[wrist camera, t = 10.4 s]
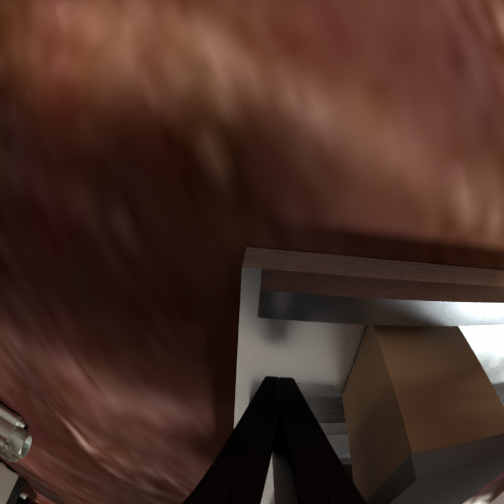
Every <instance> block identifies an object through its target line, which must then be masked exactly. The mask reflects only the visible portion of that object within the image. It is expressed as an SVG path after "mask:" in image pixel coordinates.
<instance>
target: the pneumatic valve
mask: <svg viewBox="0 0 504 504" xmlns="http://www.w3.org/2000/svg"><path fill="white" fill-rule="evenodd" d="M24 427H25V424H24V421H23V420H22V417H20V416H19V415H17V414H16V413H14V412H13V411H11V410H10V409H8V408H7V407H5V406H4V405H2V404H1V403H0V455H1V456H2V457H4V458H5V459H7V460H8V461H10V462H11V461H13V462H17V461H18V458H17V457H19V458H20V459H22V458H24V457H25V456H26V455H27V454H28V452H29V450H30V447H31V443H32V437H31V435H30V434H29V433H28V432H26V430H25V429H24ZM36 497H37V494H36V493H35V491H34V490H33V489H32V487H31V486H30V484H29V483H28V481H27V480H25V479H24V478H22V477H21V476H19V475H17V474H16V473H14V472H13V471H11V470H10V469H8V468H7V467H6V465H5V464H3V463H2V462H0V504H39V503H37V502H35V499H36Z"/></svg>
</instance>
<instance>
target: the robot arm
mask: <svg viewBox="0 0 504 504" xmlns="http://www.w3.org/2000/svg"><path fill="white" fill-rule="evenodd" d="M271 456H272V465H273V482H274V499H275V504H368V503H367V502H366V501H365V499H364V498H363V497H362V495H361V494H360V492H359V491H358V489H357V488H356V486H355V485H354V483H353V481H352V480H351V478H350V476H349V475H348V473H347V471H346V470H345V471H344V469H345V468H344V466H343V465H342V463H341V461H340V459H339V458H338V456H337V454H336V452H335V451H334V449H333V447H332V445H331V444H330V442H329V440H328V438H327V437H326V435H325V433H324V431H323V430H322V428H321V426H320V424H319V422H318V421H317V419H316V417H315V415H314V414H313V412H312V410H311V408H310V406H309V405H308V403H307V401H306V399H305V397H304V396H303V394H302V392H301V390H300V388H299V387H298V385H297V383H296V381H295V380H294V378H291V377H280V378H279V377H276V376H265V377H264V379H263V381H262V382H261V384H260V386H259V388H258V389H257V391H256V393H255V395H254V396H253V398H252V400H251V401H250V403H249V405H248V407H247V408H246V410H245V412H244V413H243V415H242V417H241V418H240V420H239V422H238V423H237V425H236V427H235V428H234V430H233V431H232V433H231V435H230V436H229V438H228V440H227V441H226V443H225V444H224V446H223V448H222V449H221V451H220V452H219V454H218V455H217V457H216V459H215V460H214V462H213V464H212V465H211V466H210V468H209V469H208V471H207V472H206V474H205V475H204V476H203V478H202V479H201V481H200V482H199V483H198V485H197V486H196V488H195V489H194V490H193V491H192V492H191V494H190V495H189V496H188V497H187V498H186V499H185V500H184V502H183V503H182V504H261V500H262V496H263V491H264V487H265V483H266V479H267V474H268V470H269V465H270V461H271Z"/></svg>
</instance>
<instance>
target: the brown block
mask: <svg viewBox="0 0 504 504" xmlns="http://www.w3.org/2000/svg"><path fill="white" fill-rule="evenodd" d="M342 401H343V407H344V414H345V420H346V427H347V434H348V442H349V449H350V457H351V465H352V473H353V482H354V485H355V486H356V488H357V489H358V491H359V492H360V494H361V495H362V497H363V498H364V499H365V501H366V502H367V503H368V504H462V503H463V502H465V501H466V500H467V499H469V498H470V497H471V496H473V495H474V494H475V493H477V492H478V491H479V490H481V489H482V488H483V487H484V486H486V485H487V484H488V483H489V482H491V481H492V480H493V479H494V478H495V477H496V476H498V475H499V474H500V473H501V472H502V471H503V470H504V406H503V404H502V402H501V400H500V399H499V397H498V395H497V393H496V391H495V389H494V387H493V385H492V383H491V381H490V380H489V378H488V376H487V374H486V372H485V371H484V369H483V367H482V365H481V363H480V362H479V360H478V358H477V357H476V355H475V353H474V351H473V350H472V348H471V346H470V345H469V343H468V341H467V340H466V338H465V336H464V335H463V333H462V332H461V330H460V328H459V327H458V326H395V325H368V326H367V329H366V332H365V335H364V338H363V341H362V344H361V347H360V350H359V352H358V355H357V358H356V361H355V363H354V366H353V369H352V371H351V374H350V376H349V379H348V382H347V384H346V387H345V389H344V392H343V394H342Z"/></svg>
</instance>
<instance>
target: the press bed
mask: <svg viewBox="0 0 504 504" xmlns="http://www.w3.org/2000/svg"><path fill="white" fill-rule="evenodd" d="M368 325H395V326H458V327H459V328H460V330H461V332H462V333H463V335H464V336H465V338H466V340H467V341H468V343H469V345H470V346H471V348H472V350H473V351H474V353H475V355H476V357H477V358H478V360H479V362H480V363H481V365H482V367H483V369H484V371H485V372H486V374H487V376H488V378H489V380H490V381H491V383H492V385H493V387H494V389H495V391H496V393H497V395H498V397H499V399H500V400H501V402H502V404H503V406H504V270H494V269H483V268H473V267H462V266H452V265H441V264H431V263H420V262H409V261H398V260H387V259H377V258H366V257H355V256H344V255H333V254H322V253H310V252H299V251H288V250H277V249H265V248H254V247H246V250H245V255H244V260H243V265H242V277H241V295H240V313H239V332H238V352H237V372H236V392H235V413H234V428H235V427H236V425H237V423H238V422H239V420H240V418H241V417H242V415H243V413H244V412H245V410H246V408H247V407H248V405H249V403H250V401H251V400H252V398H253V396H254V395H255V393H256V391H257V389H258V388H259V386H260V384H261V382H262V381H263V379H264V377H265V376H276V377H279V378H280V377H291V378H294V380H295V381H296V383H297V385H298V387H299V388H300V390H301V392H302V394H303V396H304V397H305V399H306V401H307V403H308V405H309V406H310V408H311V410H312V412H313V414H314V415H315V417H316V419H317V421H318V422H319V424H320V426H321V428H322V430H323V431H324V433H325V435H326V437H327V438H328V440H329V442H330V444H331V445H332V447H333V449H334V451H335V452H336V454H337V456H338V458H339V459H340V461H341V463H342V465H343V466H344V468H345V469H344V471H345V470H346V471H347V473H348V475H349V476H350V478H351V480H352V481H353V473H352V465H351V457H350V449H349V442H348V434H347V427H346V420H345V414H344V407H343V401H342V394H343V392H344V389H345V387H346V384H347V382H348V379H349V376H350V374H351V371H352V369H353V366H354V363H355V361H356V358H357V355H358V352H359V350H360V347H361V344H362V341H363V338H364V335H365V332H366V329H367V326H368ZM353 483H354V482H353ZM261 504H275V499H274V482H273V465H272V456H271V461H270V465H269V470H268V474H267V479H266V483H265V487H264V491H263V496H262V500H261Z"/></svg>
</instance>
